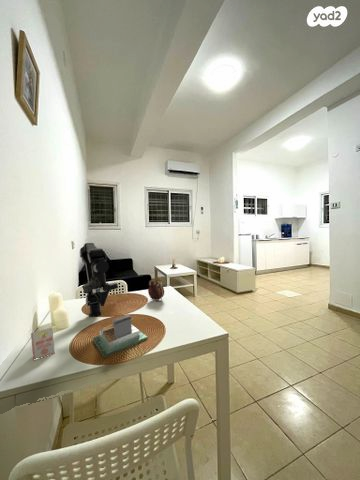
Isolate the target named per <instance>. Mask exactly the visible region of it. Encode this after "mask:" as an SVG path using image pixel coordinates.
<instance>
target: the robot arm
mask: <svg viewBox="0 0 360 480" xmlns="http://www.w3.org/2000/svg"><path fill="white" fill-rule="evenodd" d="M79 258H80V259H81V262H83V263H84V264H85V271H86V276H87V277H86V278H87V282H86V283H85V284H83V285H82V286H81V288H82V290H83V294H86V296H85V305H86V306H87V307H89V313H88V318H89V317H94V316H102V311H103V310H102V309H101V307H104V306H105V304H106V301H107V298H108V295H109V293H110V292H111V291H112V290H117V289H119V285H118V283H117V282H112V283H108V282H107V280H106V278H107V277H108V275H107V274H106V273H107V272H108V270H109V268H110V265H109V263H108V262H107V261H108V259H109V258H108V255H107V254H106V251H105V250H104V249H103V248H101V247H99V248H98V247H97V246H96V245H95V243H93V242H87V243H83V246H82V247H81V248H80V249H79Z"/></svg>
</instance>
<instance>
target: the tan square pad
mask: <svg viewBox="0 0 360 480" xmlns="http://www.w3.org/2000/svg"><path fill="white" fill-rule="evenodd" d="M133 320H134V317H131V322H133ZM112 327H114V324H113V323H112V324H110V325H107V326H105V327H104V326H103V327H102V328H101V330H106V329H109V328H112Z"/></svg>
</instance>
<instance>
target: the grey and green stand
mask: <svg viewBox="0 0 360 480" xmlns="http://www.w3.org/2000/svg"><path fill="white" fill-rule="evenodd" d="M131 318H132V316H131V315H129V314H127V315H123V316H120V317H118V318H114V319H112V320H111V323H112V324H114V327H112V328H109V329H106V330H102V329H101V330H99V335H97V336H94V337H92V342H93V343H94V344H95V346H96V347H97V349H98V351H99V352H100V354H101V355H102V357H104V359H106V358H108V357H110V356H112V355H115V354H117V353H119V352H121V351H124V350H126V349H128V348H130V347H133V346H134V345H137V344H139V343H142V342H144V341H146V340H148V336H147V335H146V334H144V333H143V332H142V331H140V329H138V328H137V327H135V326H134V325H133V324H132V321H131Z"/></svg>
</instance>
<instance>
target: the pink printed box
mask: <svg viewBox="0 0 360 480" xmlns="http://www.w3.org/2000/svg"><path fill="white" fill-rule="evenodd" d="M30 336H31V348H32V349H31V350H32V359H33V360H34V359H36V358H40V359H42V358H41V357H43V358H45V357H44V356H46V357H48V356H47V355H49V356H51V355H50V354H52V355H54V354H55V342H54V331H53V326H52V327H51V326H50V327H47V328H44V329H41V330H37V331H33V332H31V333H30ZM53 353H54V354H53Z"/></svg>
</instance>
